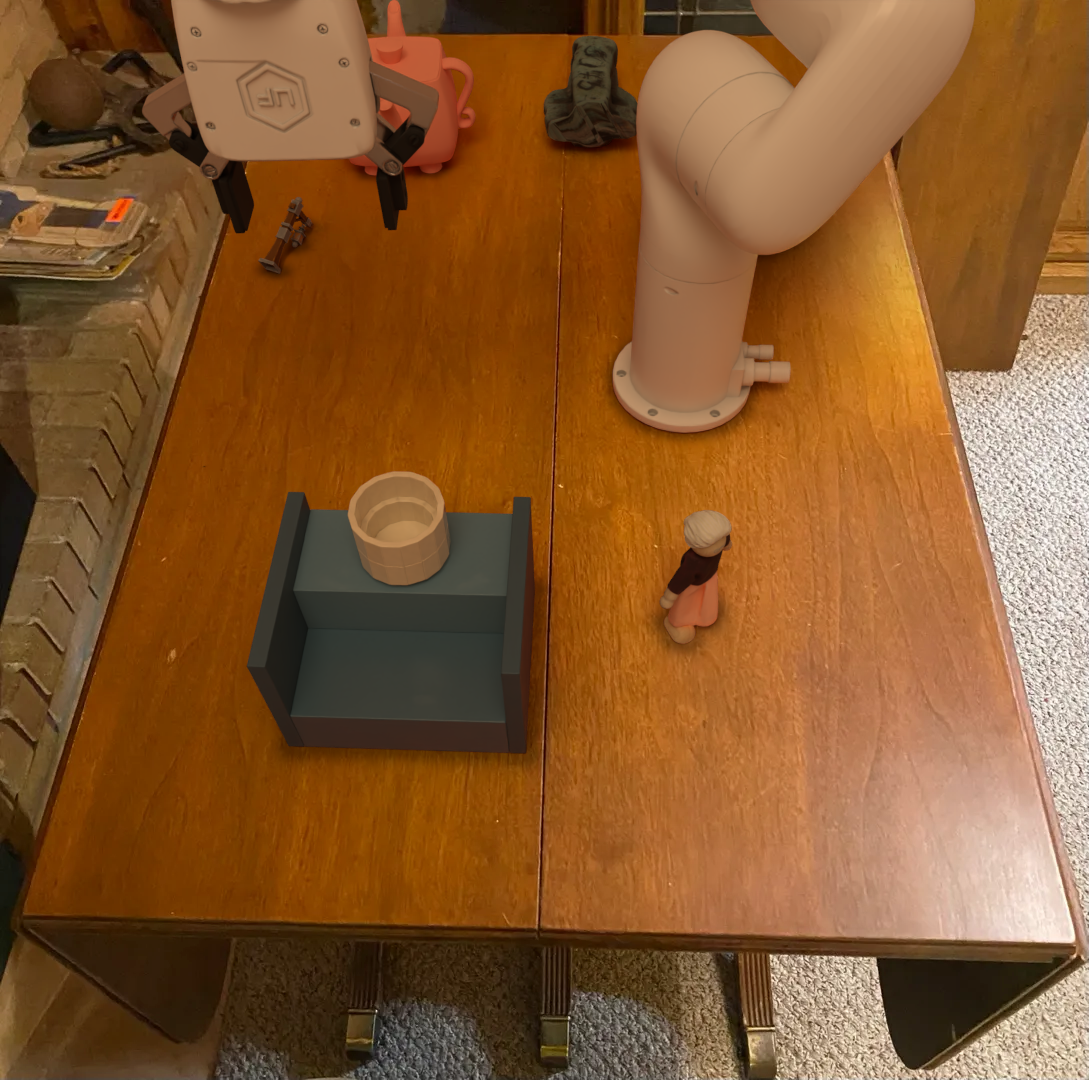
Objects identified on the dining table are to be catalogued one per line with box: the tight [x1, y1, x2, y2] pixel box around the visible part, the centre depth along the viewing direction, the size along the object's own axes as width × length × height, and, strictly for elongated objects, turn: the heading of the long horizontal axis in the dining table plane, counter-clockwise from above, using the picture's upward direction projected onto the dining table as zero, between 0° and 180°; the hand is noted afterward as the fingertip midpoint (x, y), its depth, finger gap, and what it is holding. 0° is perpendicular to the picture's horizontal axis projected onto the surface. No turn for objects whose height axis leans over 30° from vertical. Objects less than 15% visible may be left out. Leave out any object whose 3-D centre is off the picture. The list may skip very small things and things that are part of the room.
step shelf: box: [246, 491, 536, 754], centre depth 73 cm, size 17×14×12 cm
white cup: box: [347, 470, 451, 585], centre depth 69 cm, size 6×6×5 cm
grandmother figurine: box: [659, 509, 733, 645], centre depth 74 cm, size 8×4×13 cm, turn 148°
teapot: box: [348, 0, 477, 176], centre depth 111 cm, size 15×17×13 cm
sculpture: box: [543, 35, 638, 148], centre depth 116 cm, size 12×8×15 cm
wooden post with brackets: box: [257, 196, 314, 274], centre depth 105 cm, size 2×8×4 cm, turn 156°
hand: (319, 218), depth 66 cm, fingers open, 9 cm apart
